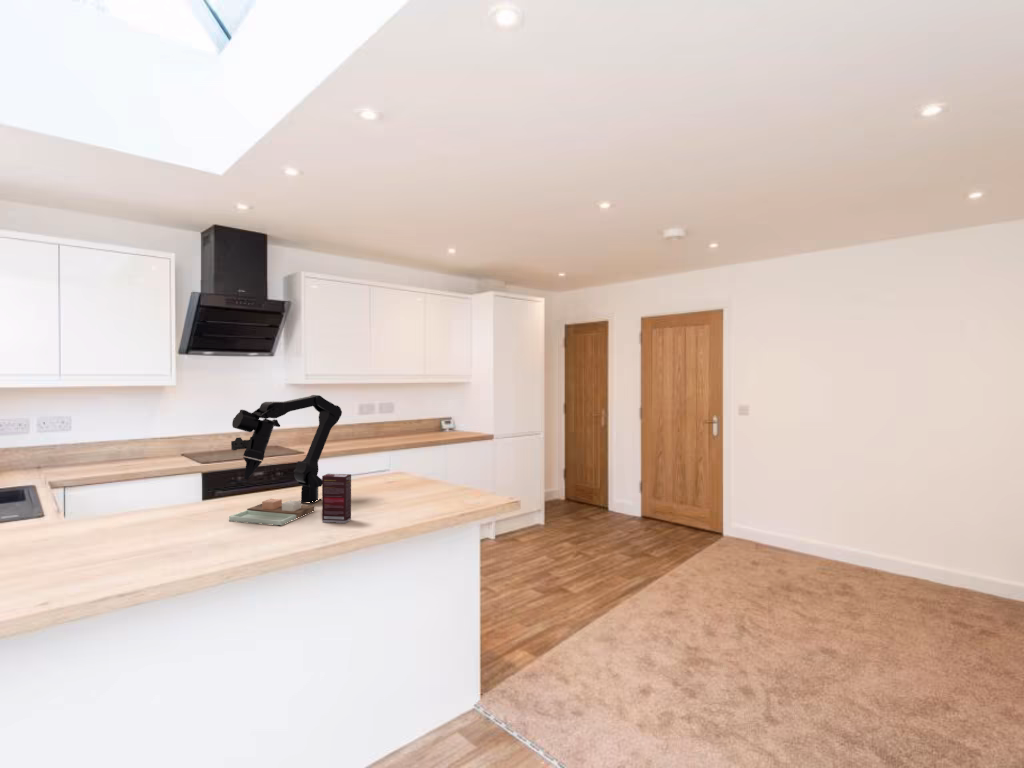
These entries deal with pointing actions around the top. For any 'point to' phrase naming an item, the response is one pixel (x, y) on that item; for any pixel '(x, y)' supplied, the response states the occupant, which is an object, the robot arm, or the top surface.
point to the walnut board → (298, 513)
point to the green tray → (262, 517)
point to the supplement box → (336, 498)
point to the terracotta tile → (271, 504)
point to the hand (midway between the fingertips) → (246, 478)
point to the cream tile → (291, 505)
